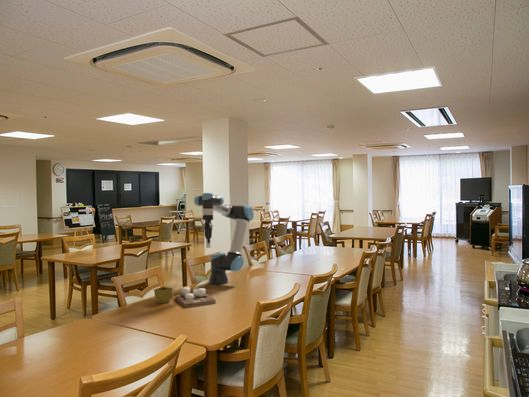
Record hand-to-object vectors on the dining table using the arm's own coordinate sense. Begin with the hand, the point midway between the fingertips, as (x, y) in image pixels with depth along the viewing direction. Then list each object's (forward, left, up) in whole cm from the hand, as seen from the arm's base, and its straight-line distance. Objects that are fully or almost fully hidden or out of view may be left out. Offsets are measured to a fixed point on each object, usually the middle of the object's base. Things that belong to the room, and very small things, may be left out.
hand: (208, 247), depth 279 cm
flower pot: (+9, -34, -33) cm, 48 cm away
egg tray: (+16, -15, -32) cm, 39 cm away
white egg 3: (+17, -11, -29) cm, 35 cm away
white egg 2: (+9, -11, -32) cm, 35 cm away
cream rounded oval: (+17, -19, -32) cm, 41 cm away
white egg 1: (+9, -19, -29) cm, 36 cm away
